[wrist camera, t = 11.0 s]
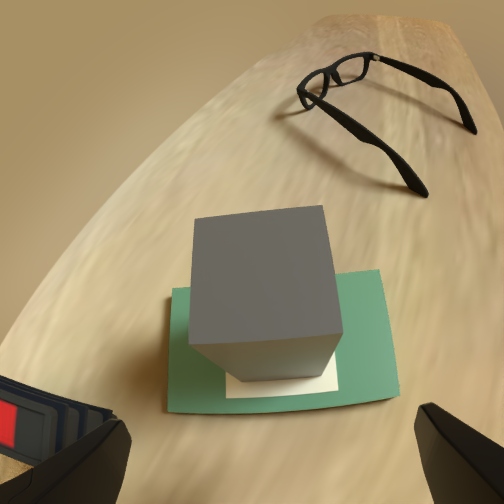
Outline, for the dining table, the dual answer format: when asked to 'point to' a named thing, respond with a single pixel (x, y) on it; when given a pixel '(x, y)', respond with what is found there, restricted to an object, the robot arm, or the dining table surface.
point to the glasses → (363, 132)
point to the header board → (301, 389)
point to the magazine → (42, 421)
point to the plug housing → (265, 294)
